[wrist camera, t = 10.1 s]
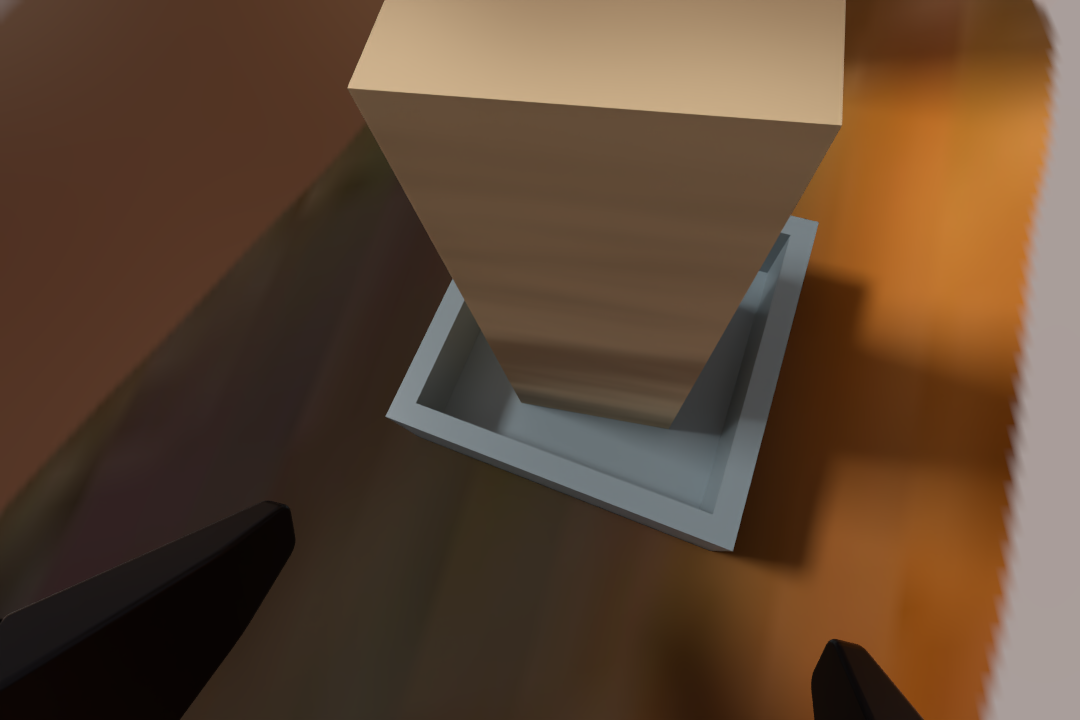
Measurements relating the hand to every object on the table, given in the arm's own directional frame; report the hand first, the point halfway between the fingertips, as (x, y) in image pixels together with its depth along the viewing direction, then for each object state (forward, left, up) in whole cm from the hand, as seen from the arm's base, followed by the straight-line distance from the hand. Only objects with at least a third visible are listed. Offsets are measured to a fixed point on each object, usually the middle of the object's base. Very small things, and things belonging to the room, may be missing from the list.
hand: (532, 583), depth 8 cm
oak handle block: (+7, -3, -8) cm, 11 cm away
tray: (+7, -3, -8) cm, 11 cm away
